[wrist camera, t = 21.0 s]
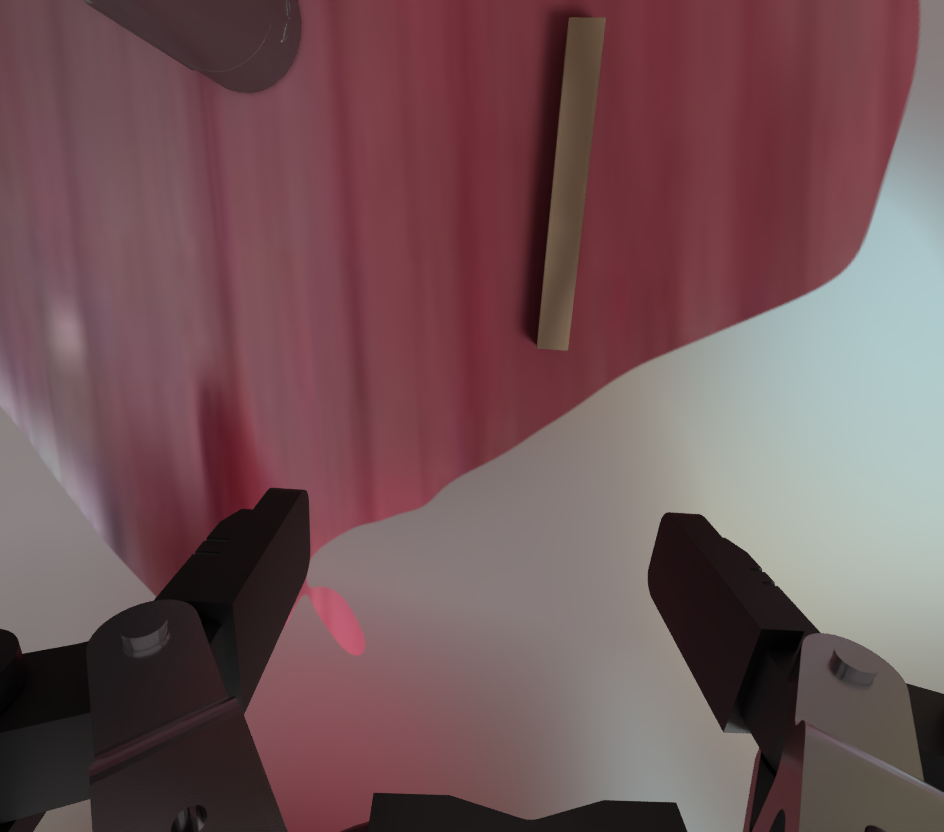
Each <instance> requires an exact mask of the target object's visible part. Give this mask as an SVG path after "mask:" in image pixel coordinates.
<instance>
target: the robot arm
mask: <svg viewBox="0 0 944 832" xmlns="http://www.w3.org/2000/svg"><path fill="white" fill-rule="evenodd" d="M84 1H85V2H86V3H87V4H88V5H90V6H91V7H93V8H94V9H96V10H97V11H99V12H101V13H102V14H104V15H105V16H107V17H109V18H110V19H112V20H113V21H115V22H116V23H118V24H120V25H121V26H123V27H124V28H126V29H127V30H129V31H131V32H132V33H134V34H135V35H137V36H139V37H140V38H142V39H143V40H145V41H146V42H148V43H150V44H151V45H153V46H154V47H156V48H158V49H159V50H161V51H162V52H164V53H165V54H167V55H169V56H170V57H172V58H173V59H175V60H176V61H178V62H180V63H181V64H183V65H184V66H186V67H188V68H189V69H191V70H198V71H199V72H201V73H202V74H204V75H205V76H207V77H208V78H210V79H212V80H213V81H215V82H216V83H218V84H220V85H222V86H223V87H225V88H227V89H230V90H233V91H237V92H245V93H252V92H257V91H261V90H264V89H266V88H268V87H270V86H272V85H274V84H275V83H276V82H277V81H278V80H280V79H281V78H282V77H283V76H284V75H285V73H286V72H287V70H288V69H289V68H290V66H291V64H292V62H293V60H294V58H295V56H296V53H297V50H298V45H299V41H300V33H301V18H300V10H299V5H298V2H297V0H84ZM309 562H310V522H309V498H308V493H307V491H306V490H299V489H283V488H270V489H268V490H267V492H266V493H265V494H264V496H263V497H262V498H261V500H260V501H259V502H258V504H257V505H256V506H255V508H254V509H253V510H251V509H241V510H239V511H237V512H236V513H234V514H232V515H231V516H229V517H227V518H226V519H224V520H222V521H221V522H220V523H219V524H218V525H217V526H216V527H215V529H214V530H213V531H212V532H211V533H210V534H209V536H208V537H207V540H206V541H204V542H203V543H202V544H201V545H200V546H199V547H198V549H197V550H196V553H195V554H193V555H192V556H191V557H190V558H189V559H188V561H187V562H186V563H185V564H184V565H183V566H182V568H181V569H180V570H179V571H178V572H177V574H176V575H175V576H174V577H173V578H172V579H171V581H170V582H169V583H168V584H167V585H166V587H165V588H164V589H163V590H162V591H161V593H160V594H159V595H158V596H157V597H156V598H155V600H154V601H150V602H146V603H143V604H139V605H137V606H134V607H131V608H129V609H127V610H124V611H122V612H120V613H119V614H117V615H115V616H113V617H112V618H110V619H109V620H108V621H106V622H105V623H104V624H103V625H102V626H100V627H99V628H98V629H97V631H96V632H95V633H94V634H93V635H92V637H91V639H90V640H89V641H87V642H83V643H79V644H75V645H69V646H63V647H59V648H53V649H47V650H41V651H36V652H31V653H25V654H22V651H21V648H20V645H19V641H18V639H17V637H16V636H15V635H14V634H13V633H11V632H9V631H7V630H3V629H0V832H33V831H34V830H35V828H36V826H37V825H38V823H39V822H40V820H41V819H42V817H43V816H44V814H45V813H46V811H48V810H52V809H55V808H60V807H63V806H66V805H70V804H74V803H77V802H81V801H84V800H88V799H90V800H91V816H92V831H93V832H288V831H287V828H286V826H285V823H284V821H283V818H282V815H281V812H280V810H279V807H278V805H277V802H276V799H275V797H274V794H273V791H272V789H271V786H270V784H269V781H268V778H267V775H266V773H265V770H264V768H263V765H262V762H261V759H260V757H259V755H258V752H257V749H256V746H255V744H254V741H253V738H252V736H251V733H250V730H249V728H248V725H247V723H246V720H245V717H244V714H245V711H246V709H247V707H248V705H249V702H250V700H251V698H252V696H253V694H254V691H255V689H256V687H257V685H258V683H259V680H260V678H261V676H262V674H263V672H264V669H265V667H266V665H267V663H268V661H269V658H270V656H271V654H272V652H273V650H274V647H275V645H276V642H277V640H278V638H279V636H280V634H281V632H282V630H283V627H284V625H285V623H286V621H287V619H288V616H289V614H290V612H291V610H292V608H293V605H294V603H295V601H296V599H297V596H298V594H299V592H300V590H301V588H302V585H303V583H304V581H305V578H306V575H307V572H308V568H309ZM648 587H649V591H650V595H651V597H652V599H653V601H654V603H655V605H656V607H657V609H658V611H659V613H660V614H661V616H662V618H663V620H664V622H665V624H666V626H667V628H668V629H669V631H670V633H671V635H672V636H673V639H674V641H675V642H676V644H677V646H678V648H679V650H680V652H681V654H682V656H683V657H684V659H685V661H686V663H687V665H688V667H689V669H690V671H691V672H692V674H693V676H694V678H695V680H696V682H697V684H698V686H699V687H700V689H701V691H702V693H703V695H704V697H705V699H706V700H707V702H708V704H709V706H710V708H711V710H712V712H713V714H714V715H715V717H716V719H717V721H718V723H719V725H720V727H721V729H722V730H723V732H725V733H751V734H752V736H753V737H754V739H755V741H756V743H757V744H758V746H759V750H758V752H757V754H756V757H755V761H754V767H753V773H752V779H751V785H750V792H749V798H748V803H747V809H746V815H745V821H744V827H743V832H944V694H942V693H938V692H935V691H931V690H928V689H924V688H921V687H917V686H914V685H910V684H906V683H905V681H904V680H903V678H902V677H901V676H900V674H899V673H898V672H897V671H896V670H895V669H894V668H893V667H892V666H891V665H890V664H889V663H887V662H886V661H885V660H884V659H882V658H881V657H880V656H878V655H877V654H875V653H874V652H872V651H871V650H869V649H867V648H865V647H864V646H862V645H860V644H858V643H855V642H853V641H851V640H848V639H845V638H843V637H839V636H836V635H831V634H824V633H820V632H819V631H818V629H817V628H816V627H815V626H814V625H813V624H812V623H811V622H810V621H809V620H808V619H807V618H806V616H805V615H804V614H803V613H802V612H801V611H800V610H799V609H798V608H797V607H796V605H795V604H794V603H793V602H792V601H791V600H790V599H789V598H788V597H787V596H786V595H785V594H784V592H783V591H782V590H781V589H780V588H779V587H778V586H775V584H774V581H773V580H772V579H771V578H770V577H769V576H768V575H767V574H766V573H765V572H762V568H761V567H760V566H759V565H758V564H757V563H756V562H755V561H754V560H753V558H751V556H750V555H749V554H748V553H747V552H746V551H744V550H743V549H741V548H740V547H738V546H737V545H735V544H734V543H732V542H731V541H729V540H728V539H726V538H722V537H721V535H719V533H718V532H717V531H716V530H715V529H714V528H713V526H712V525H711V524H710V523H709V522H708V521H707V519H706V518H705V517H703V516H702V515H700V514H686V513H670V512H669V513H665V514H664V516H663V517H662V519H661V522H660V526H659V529H658V533H657V537H656V541H655V545H654V549H653V553H652V557H651V561H650V565H649V569H648ZM341 832H687V830H686V827H685V824H684V822H683V819H682V817H681V814H680V811H679V809H678V806H677V804H676V803H672V802H641V801H609V800H604V801H600V802H596V803H592V804H590V805H586V806H582V807H579V808H575V809H571V810H568V811H565V812H561V813H558V814H554V815H550V816H547V817H544V818H540V819H536V820H526V819H522V818H518V817H515V816H512V815H509V814H506V813H503V812H500V811H497V810H494V809H491V808H487V807H484V806H481V805H478V804H475V803H472V802H469V801H466V800H463V799H459V798H456V797H453V796H450V795H423V794H393V793H391V794H390V793H374V794H373V801H372V807H371V814H370V820H369V822H366V823H362V824H359V825H356V826H353V827H350V828H348V829H345V830H343V831H341Z"/></svg>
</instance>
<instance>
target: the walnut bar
mask: <svg viewBox="0 0 944 832" xmlns="http://www.w3.org/2000/svg"><path fill="white" fill-rule="evenodd" d="M605 22H606V18H580V17H569V22H568V28H567V36H566V46H565V57H564V67H563V77H562V87H561V98H560V108H559V118H558V129H557V139H556V149H555V160H554V170H553V180H552V190H551V201H550V211H549V221H548V232H547V242H546V252H545V263H544V273H543V283H542V293H541V304H540V314H539V324H538V335H537V348H540V349H553V350H566V351H568V344H569V336H570V327H571V318H572V309H573V301H574V292H575V283H576V275H577V266H578V257H579V248H580V240H581V231H582V222H583V214H584V205H585V196H586V187H587V179H588V170H589V161H590V152H591V144H592V135H593V126H594V118H595V109H596V100H597V91H598V83H599V74H600V65H601V57H602V48H603V39H604V30H605Z"/></svg>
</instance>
